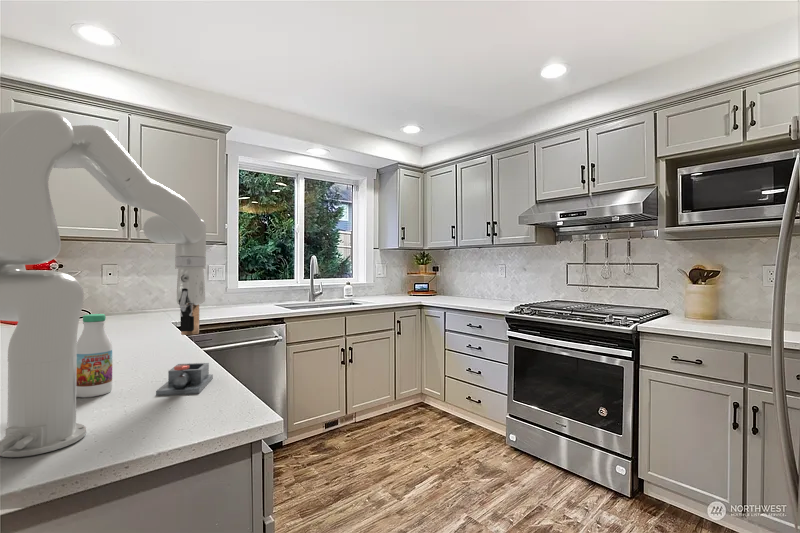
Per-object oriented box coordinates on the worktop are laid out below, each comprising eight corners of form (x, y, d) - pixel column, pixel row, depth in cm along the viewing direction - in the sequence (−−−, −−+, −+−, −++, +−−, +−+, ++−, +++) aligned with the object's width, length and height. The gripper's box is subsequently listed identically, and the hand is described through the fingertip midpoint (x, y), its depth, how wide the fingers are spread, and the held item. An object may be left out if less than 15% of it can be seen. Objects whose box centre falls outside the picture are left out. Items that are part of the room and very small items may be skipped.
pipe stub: (196, 334, 110) (196, 305, 110) (178, 335, 110) (179, 305, 110) (200, 332, 115) (201, 303, 115) (184, 332, 114) (184, 304, 114)
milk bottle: (67, 395, 101) (68, 315, 101) (102, 387, 108) (103, 312, 108) (83, 400, 98) (84, 317, 98) (118, 391, 105) (119, 314, 105)
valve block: (199, 393, 104) (199, 368, 104) (156, 395, 102) (156, 370, 102) (212, 378, 118) (212, 356, 118) (175, 380, 116) (175, 357, 115)
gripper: (196, 263, 104) (195, 334, 105) (212, 263, 121) (212, 324, 121) (164, 263, 103) (164, 335, 103) (185, 263, 120) (185, 325, 120)
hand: (190, 328), depth 112 cm, fingers closed on pipe stub, 4 cm apart
